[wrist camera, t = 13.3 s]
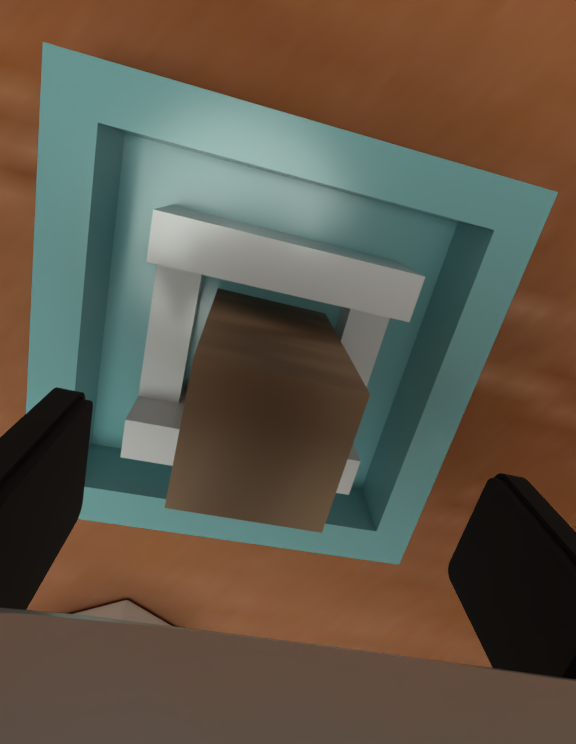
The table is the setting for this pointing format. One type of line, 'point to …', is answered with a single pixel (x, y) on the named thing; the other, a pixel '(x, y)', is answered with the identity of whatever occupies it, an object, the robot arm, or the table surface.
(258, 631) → the table surface
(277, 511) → the brown wooden block
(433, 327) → the candle dish
